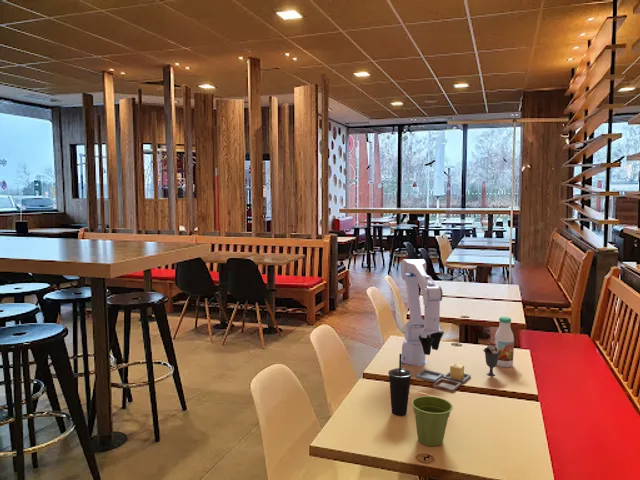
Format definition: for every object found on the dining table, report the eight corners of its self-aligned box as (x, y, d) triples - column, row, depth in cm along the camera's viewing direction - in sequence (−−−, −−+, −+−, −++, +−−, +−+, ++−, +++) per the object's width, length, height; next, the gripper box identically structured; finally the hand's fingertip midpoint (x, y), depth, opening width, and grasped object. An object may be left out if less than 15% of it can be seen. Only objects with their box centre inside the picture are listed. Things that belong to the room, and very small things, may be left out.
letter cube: (449, 378, 197) (450, 365, 197) (453, 375, 201) (454, 362, 200) (460, 380, 195) (460, 368, 194) (463, 377, 198) (464, 365, 198)
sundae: (497, 373, 205) (499, 336, 203) (501, 379, 198) (503, 341, 196) (480, 372, 205) (482, 336, 204) (484, 378, 199) (485, 341, 197)
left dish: (415, 378, 198) (415, 375, 198) (424, 372, 205) (424, 369, 204) (435, 383, 194) (435, 379, 193) (443, 377, 200) (443, 373, 200)
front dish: (432, 388, 189) (432, 384, 189) (440, 381, 195) (441, 378, 195) (453, 393, 184) (453, 389, 184) (461, 386, 191) (461, 382, 191)
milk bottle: (490, 364, 214) (492, 318, 212) (498, 360, 220) (500, 314, 218) (508, 369, 209) (510, 321, 207) (515, 364, 215) (518, 317, 212)
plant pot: (425, 454, 143) (427, 416, 141) (402, 435, 154) (403, 399, 152) (460, 446, 147) (461, 408, 146) (435, 428, 158) (436, 393, 157)
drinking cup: (412, 409, 171) (414, 351, 169) (408, 419, 164) (410, 359, 162) (389, 406, 173) (391, 349, 171) (385, 416, 166) (386, 356, 164)
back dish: (442, 380, 197) (443, 376, 197) (450, 374, 203) (450, 370, 203) (463, 385, 192) (463, 381, 192) (470, 378, 199) (470, 374, 199)
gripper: (434, 322, 188) (433, 358, 190) (449, 315, 200) (448, 349, 201) (416, 319, 193) (415, 355, 194) (432, 312, 204) (431, 346, 206)
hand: (431, 351), depth 198 cm, fingers open, 7 cm apart
